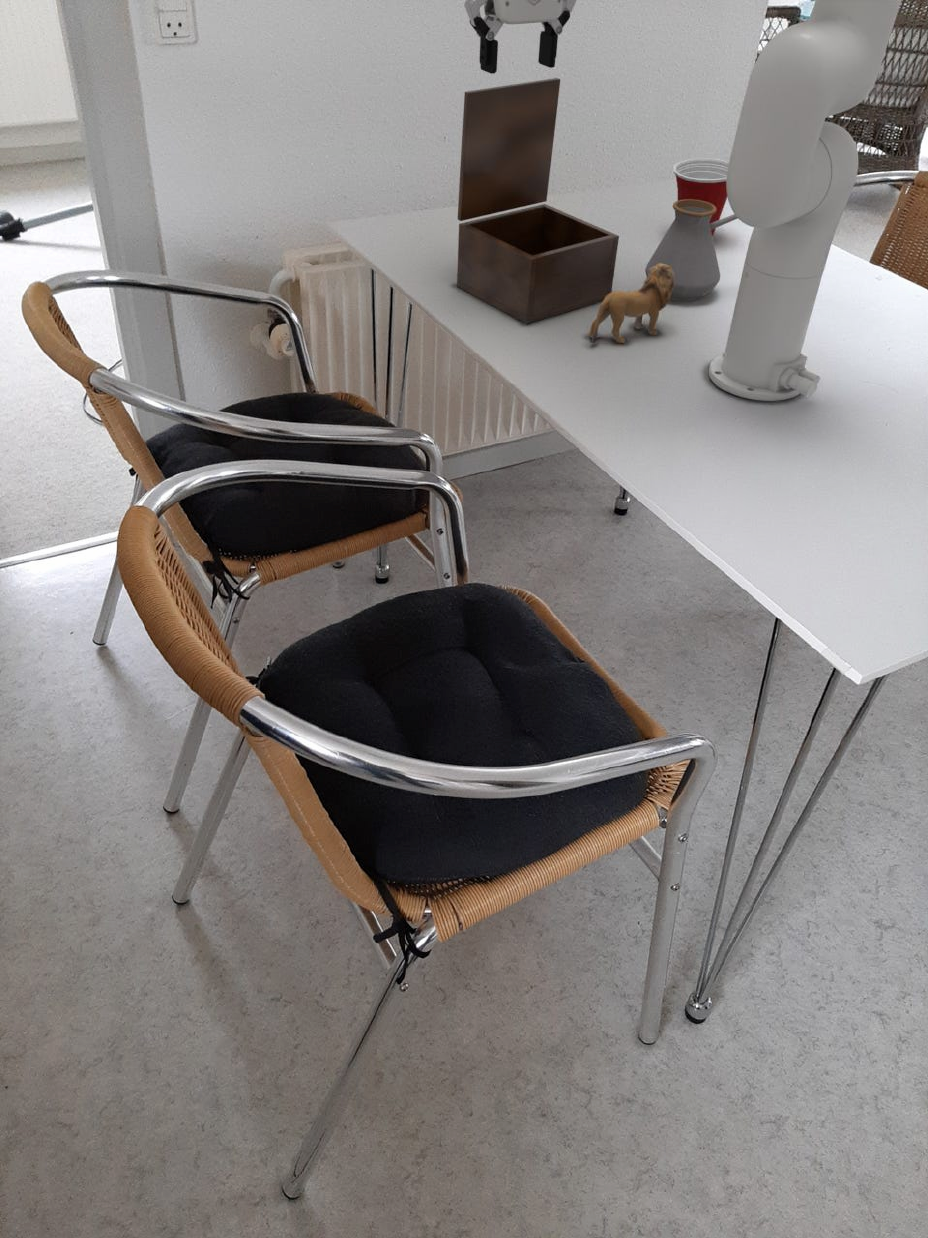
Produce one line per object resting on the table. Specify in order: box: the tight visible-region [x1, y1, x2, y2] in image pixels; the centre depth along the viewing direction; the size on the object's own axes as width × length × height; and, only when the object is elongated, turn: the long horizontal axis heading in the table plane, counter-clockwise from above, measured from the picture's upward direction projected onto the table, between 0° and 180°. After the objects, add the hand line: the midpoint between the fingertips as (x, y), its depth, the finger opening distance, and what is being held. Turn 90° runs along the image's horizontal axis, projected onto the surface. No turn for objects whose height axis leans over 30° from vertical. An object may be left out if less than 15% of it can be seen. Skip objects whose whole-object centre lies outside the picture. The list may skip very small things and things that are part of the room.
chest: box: [456, 203, 620, 325], centre depth 151 cm, size 16×17×10 cm
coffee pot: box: [644, 199, 739, 302], centre depth 152 cm, size 21×12×15 cm, turn 98°
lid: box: [457, 77, 561, 222], centre depth 147 cm, size 17×17×5 cm
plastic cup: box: [673, 157, 729, 237], centre depth 170 cm, size 11×11×12 cm
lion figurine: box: [588, 263, 675, 344], centre depth 140 cm, size 15×5×9 cm, turn 129°
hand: (517, 68), depth 139 cm, fingers open, 9 cm apart
